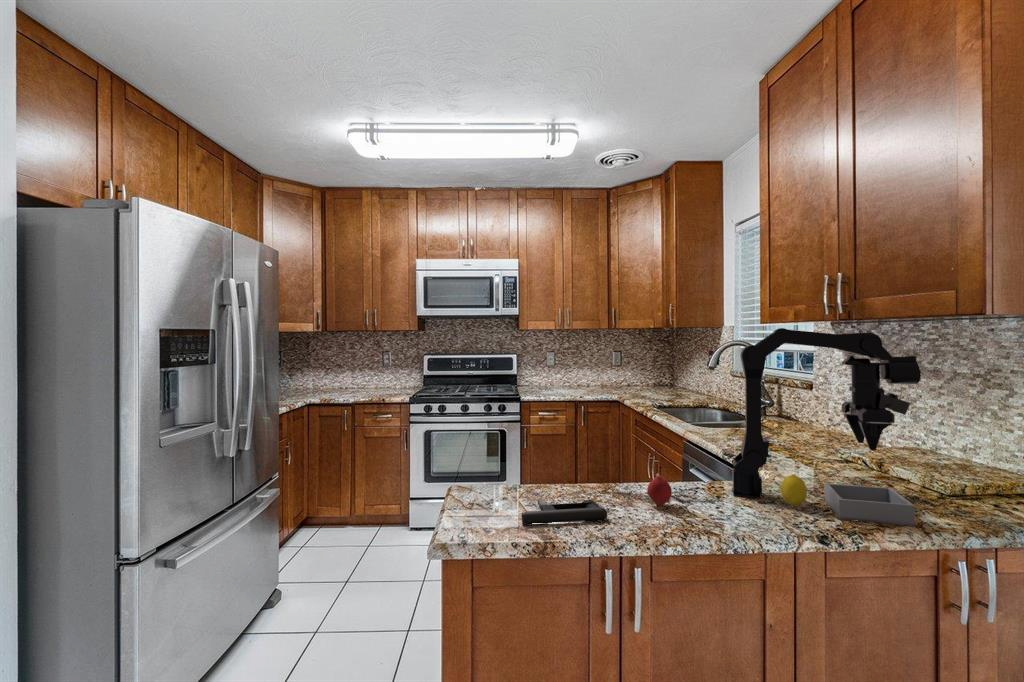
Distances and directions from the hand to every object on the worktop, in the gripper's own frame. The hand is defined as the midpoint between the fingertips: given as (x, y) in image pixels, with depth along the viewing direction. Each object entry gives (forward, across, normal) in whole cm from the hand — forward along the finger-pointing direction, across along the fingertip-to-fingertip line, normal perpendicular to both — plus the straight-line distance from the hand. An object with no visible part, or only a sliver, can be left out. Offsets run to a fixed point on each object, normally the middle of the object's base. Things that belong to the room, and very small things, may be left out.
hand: (866, 446), depth 121 cm
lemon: (+15, -8, +17) cm, 24 cm away
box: (+14, -7, +2) cm, 16 cm away
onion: (+15, -16, +48) cm, 53 cm away
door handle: (+16, -29, +70) cm, 78 cm away
